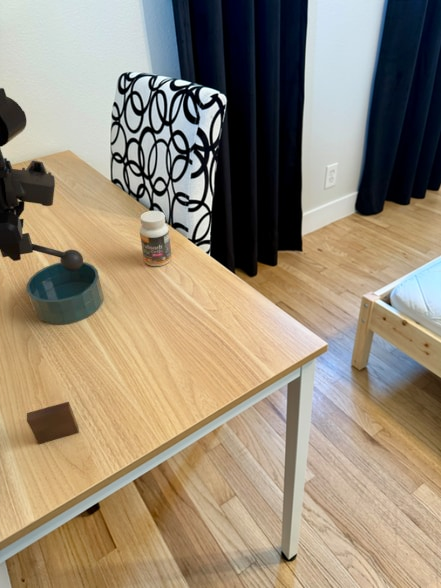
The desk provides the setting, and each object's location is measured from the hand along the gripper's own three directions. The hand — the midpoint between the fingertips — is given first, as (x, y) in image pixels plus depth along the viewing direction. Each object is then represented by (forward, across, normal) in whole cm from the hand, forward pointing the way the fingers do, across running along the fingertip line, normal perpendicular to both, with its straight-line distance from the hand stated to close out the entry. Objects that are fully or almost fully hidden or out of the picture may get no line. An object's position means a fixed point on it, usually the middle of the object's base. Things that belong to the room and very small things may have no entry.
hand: (17, 256), depth 68 cm
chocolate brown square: (+12, -27, -2) cm, 29 cm away
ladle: (+4, 0, -4) cm, 6 cm away
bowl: (+12, +1, -5) cm, 13 cm away
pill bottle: (+12, +9, -23) cm, 28 cm away
